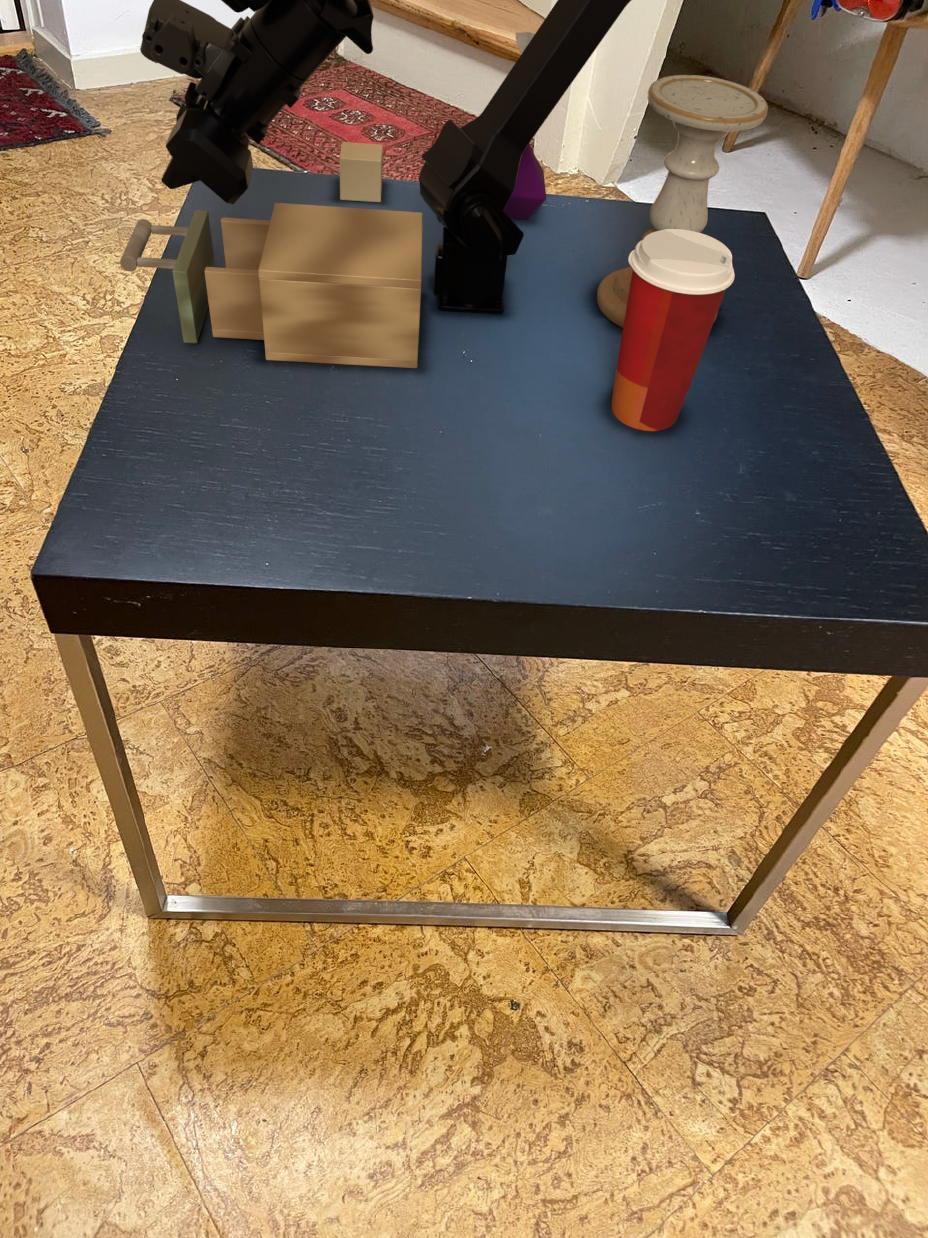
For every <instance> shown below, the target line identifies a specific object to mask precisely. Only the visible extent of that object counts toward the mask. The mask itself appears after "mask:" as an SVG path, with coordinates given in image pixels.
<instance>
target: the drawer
mask: <svg viewBox="0 0 928 1238" xmlns="http://www.w3.org/2000/svg"><path fill="white" fill-rule="evenodd" d="M270 221H271V220H266V219H253V218H238V217H237V218H236V217H221V219H220V227H221V236H222V245H223V254H224V262H225V267H217V266H216V263H215V257H214V256H215V255H214V247H213V240H212V239H213V238H212V231H211V230H212V229H211V223H210V214H209V210H206V209H205V210H203V209H195V210H194V211H193V214H192V218H191V220H190V223H189V225H188V226H173V225H156V224H152V223H151V222H150V221H149V220H148V219H145V218H140V219H138V221H136V224H135V227H134V228H133V231H132V233H131V235H130V238H129V240H128V242H127V244H126V246H125V249H124V251H123V253H122V255H121V257H120V259H119V264H120V267H121V268H122V269H123V271H126V272H134V271H136V270H137V267H139V268H153V269H168V270H169V269H170V270H172V277H173V284H174V291H175V296H176V303H177V309H178V316H179V322H180V328H181V335H182V342H183V343H186V344H198V342H199V338H200V334H201V332H202V329H203V325H204V322H205V318H206V316H207V312H208V309H209V317H210V325H211V333H212V337H213V338H223V339H224V338H225V339H240V340H257V341H264V331H263V320H262V308H261V297H260V285H259V273H258V270H259V266H260V261H261V257H262V253H263V249H264V245H265V241H266V237H267V233H268V229H269V225H270ZM151 235H164V236H165V235H166V236H177V237H178V236H181V237H184V239H183V242H182V244H181V247H180V250H179V252H178V256H177V258H176V259H174V258H173V259H172V258H158V257H157V258H156V257H144V256H143V254H144V251H145V249H146V248H147V247H146V246H147V244H148V242H149V240H150V238H151ZM142 256H143V257H142Z"/></svg>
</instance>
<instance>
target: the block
mask: <svg viewBox="0 0 928 1238" xmlns="http://www.w3.org/2000/svg"><path fill="white" fill-rule="evenodd" d="M383 149H384V145H383V144H382V143H379V144H378V143H369V142H367V143H366V142H354V141H342V142H341V147H340V151H339V161H338V163H339V199H340V201H355V202H356V201H357V202H367V203H369V202H370V203H381V202H382V190H383V159H384V157H383V156H384V155H383V154H384V151H383Z"/></svg>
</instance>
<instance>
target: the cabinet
mask: <svg viewBox="0 0 928 1238" xmlns="http://www.w3.org/2000/svg"><path fill="white" fill-rule="evenodd" d="M272 209H273V210H272V212H271V213H272V214H271V217H270V220H269V221H270V225H269V229H268V233H267V237H266V241H265V245H264V249H263V253H262V257H261V261H260V266H259V270H258V273H259V285H260V297H261V308H262V320H263V331H264V340H263V341H264V352H265V355H264V356H265V360H266V361H277V362H278V361H281V362H295V363H296V362H298V363H314V364H331V365H332V364H334V365H349V366H369V367H385V368H386V367H387V368H404V369H405V368H406V369H418V361H419V360H418V359H419V340H420V323H421V322H420V321H421V319H420V318H421V298H422V277H423V275H422V274H423V271H422V270H423V268H422V267H423V212H419V211H418V212H417V211H404V210H403V211H402V210H388V209H373V208H357V207H346V206H345V207H344V206H331V205H330V206H329V205H316V204H315V205H313V204H300V203H287V202H286V203H285V202H274V206H273V208H272Z"/></svg>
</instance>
